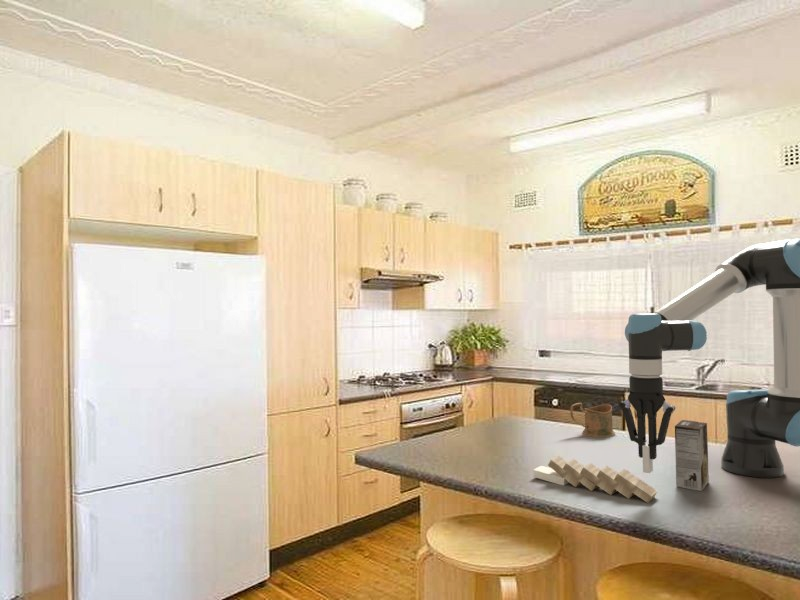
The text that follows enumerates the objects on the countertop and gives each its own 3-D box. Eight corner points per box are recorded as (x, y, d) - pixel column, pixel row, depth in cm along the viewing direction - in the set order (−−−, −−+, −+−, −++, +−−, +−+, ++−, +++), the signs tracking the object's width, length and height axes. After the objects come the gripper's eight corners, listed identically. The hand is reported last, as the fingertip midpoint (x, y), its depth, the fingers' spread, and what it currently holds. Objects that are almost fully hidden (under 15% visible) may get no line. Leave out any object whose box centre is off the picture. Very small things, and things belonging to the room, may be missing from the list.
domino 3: (602, 480, 145) (573, 458, 150) (595, 485, 141) (565, 462, 146) (599, 486, 145) (570, 464, 150) (591, 491, 141) (562, 468, 147)
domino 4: (621, 483, 141) (590, 462, 147) (614, 488, 138) (583, 467, 143) (618, 490, 142) (587, 468, 147) (611, 495, 138) (579, 473, 144)
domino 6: (657, 491, 136) (624, 468, 141) (651, 496, 132) (617, 473, 137) (654, 497, 136) (620, 475, 142) (647, 503, 132) (613, 479, 138)
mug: (562, 433, 207) (561, 401, 207) (601, 429, 212) (601, 398, 212) (581, 440, 196) (580, 406, 196) (622, 435, 201) (621, 403, 201)
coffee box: (683, 478, 151) (681, 419, 151) (709, 482, 147) (707, 422, 147) (675, 486, 144) (673, 425, 144) (702, 491, 140) (700, 428, 140)
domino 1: (571, 473, 150) (541, 465, 156) (563, 478, 146) (533, 469, 152) (571, 480, 150) (541, 472, 156) (563, 485, 147) (532, 476, 152)
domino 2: (586, 476, 148) (559, 455, 153) (579, 481, 144) (551, 459, 149) (583, 482, 148) (555, 461, 153) (575, 487, 144) (547, 465, 150)
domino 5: (639, 487, 139) (607, 465, 144) (632, 492, 135) (599, 469, 140) (635, 493, 139) (603, 471, 145) (628, 498, 135) (596, 476, 141)
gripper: (678, 376, 134) (680, 472, 133) (623, 372, 142) (626, 463, 142) (669, 379, 128) (672, 480, 128) (613, 375, 137) (615, 470, 136)
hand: (647, 471), depth 135 cm, fingers closed
